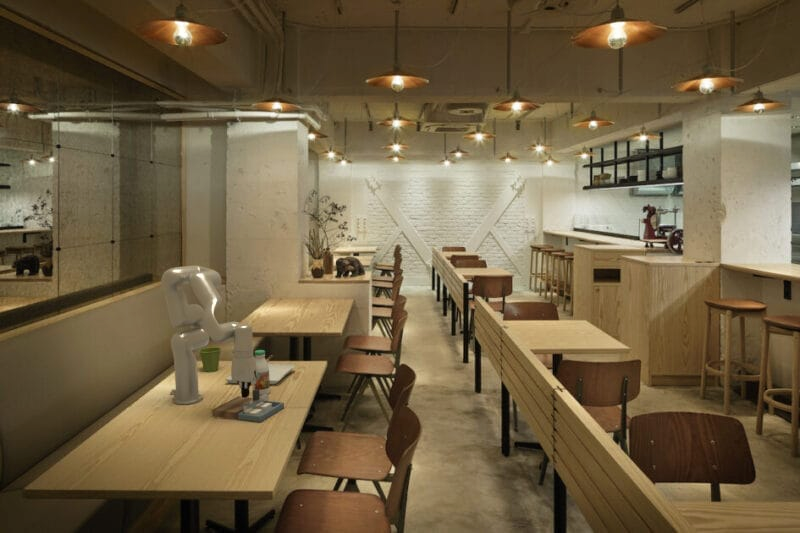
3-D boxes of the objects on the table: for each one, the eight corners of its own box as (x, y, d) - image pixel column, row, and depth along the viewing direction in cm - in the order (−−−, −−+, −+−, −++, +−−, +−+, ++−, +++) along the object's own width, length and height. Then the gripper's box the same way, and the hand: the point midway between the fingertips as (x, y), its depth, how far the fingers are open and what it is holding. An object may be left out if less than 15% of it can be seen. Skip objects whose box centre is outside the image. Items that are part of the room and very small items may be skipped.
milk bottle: (249, 394, 274) (247, 352, 272) (259, 390, 281) (257, 348, 279) (263, 396, 271) (261, 353, 269) (273, 391, 278) (271, 349, 276)
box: (237, 419, 241) (237, 413, 241) (262, 405, 258) (262, 400, 258) (260, 422, 238) (260, 416, 238) (284, 408, 255) (284, 402, 254)
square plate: (246, 370, 316) (246, 363, 316) (296, 371, 312) (296, 364, 312) (224, 385, 290) (224, 377, 289) (278, 387, 286) (278, 379, 285)
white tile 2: (255, 410, 251) (254, 405, 251) (261, 406, 255) (261, 402, 255) (265, 411, 249) (265, 407, 249) (271, 407, 254) (271, 403, 254)
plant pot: (217, 366, 325) (216, 345, 324) (226, 370, 316) (225, 349, 315) (195, 370, 317) (194, 349, 316) (204, 374, 308) (203, 353, 307)
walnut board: (212, 416, 246) (212, 409, 245) (238, 402, 262) (238, 396, 262) (237, 419, 241) (236, 412, 241) (262, 405, 258) (261, 398, 258)
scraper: (243, 411, 241) (242, 395, 241) (265, 399, 256) (264, 384, 256) (247, 411, 241) (246, 396, 240) (269, 399, 256) (268, 384, 255)
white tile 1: (244, 417, 243) (244, 412, 243) (251, 412, 248) (251, 408, 248) (255, 418, 241) (255, 413, 241) (262, 414, 246) (261, 409, 246)
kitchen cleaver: (260, 355, 345) (277, 354, 344) (261, 357, 345) (277, 356, 344) (246, 367, 321) (264, 366, 320) (246, 369, 321) (264, 368, 320)
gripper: (223, 354, 247) (225, 397, 249) (254, 357, 242) (255, 401, 244) (234, 350, 254) (235, 392, 256) (264, 353, 249) (265, 395, 251)
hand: (245, 396), depth 250 cm, fingers closed
